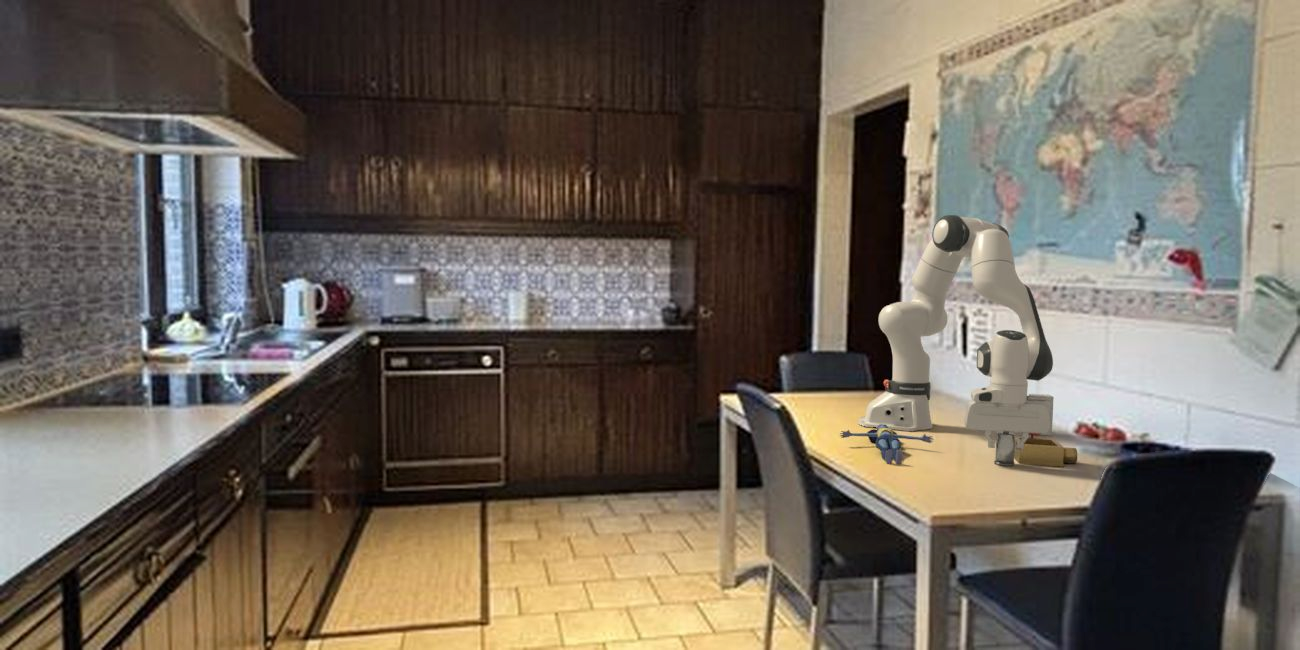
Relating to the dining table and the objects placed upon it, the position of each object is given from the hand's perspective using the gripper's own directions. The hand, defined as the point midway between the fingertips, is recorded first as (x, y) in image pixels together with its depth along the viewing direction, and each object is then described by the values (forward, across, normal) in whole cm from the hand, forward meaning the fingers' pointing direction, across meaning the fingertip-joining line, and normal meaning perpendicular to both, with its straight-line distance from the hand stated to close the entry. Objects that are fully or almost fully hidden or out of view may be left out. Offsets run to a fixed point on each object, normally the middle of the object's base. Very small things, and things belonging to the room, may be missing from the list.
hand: (1005, 448), depth 219 cm
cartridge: (+4, 0, 0) cm, 4 cm away
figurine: (+5, +29, -6) cm, 30 cm away
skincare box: (+4, -17, -46) cm, 49 cm away
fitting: (+4, -11, -9) cm, 15 cm away
